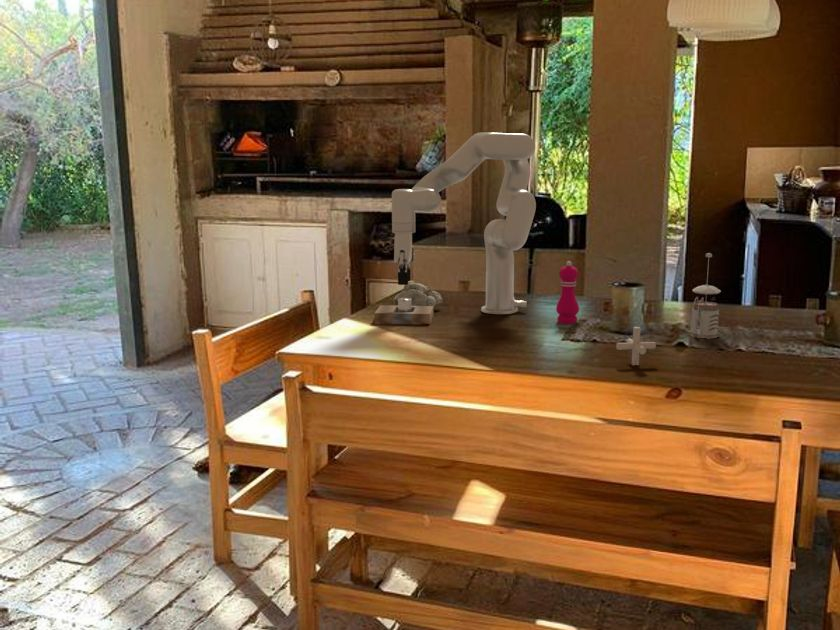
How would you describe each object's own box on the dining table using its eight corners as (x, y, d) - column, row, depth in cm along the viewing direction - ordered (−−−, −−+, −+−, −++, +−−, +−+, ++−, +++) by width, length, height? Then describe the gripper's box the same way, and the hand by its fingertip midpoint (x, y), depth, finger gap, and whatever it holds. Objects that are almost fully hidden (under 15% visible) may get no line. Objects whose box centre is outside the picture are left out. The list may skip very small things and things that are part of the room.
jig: (433, 316, 279) (433, 306, 278) (430, 324, 266) (430, 313, 266) (380, 315, 281) (380, 305, 280) (374, 323, 268) (374, 313, 267)
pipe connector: (610, 360, 222) (612, 323, 220) (646, 359, 223) (648, 322, 221) (622, 370, 212) (624, 332, 210) (660, 369, 213) (662, 331, 211)
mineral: (437, 307, 282) (441, 279, 285) (388, 302, 286) (393, 275, 288) (443, 318, 293) (447, 291, 296) (396, 313, 297) (400, 287, 300)
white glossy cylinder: (412, 318, 276) (412, 297, 274) (410, 321, 271) (410, 300, 270) (399, 318, 276) (398, 297, 275) (397, 321, 272) (397, 300, 270)
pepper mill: (553, 323, 267) (555, 262, 263) (558, 319, 273) (560, 259, 269) (575, 325, 264) (578, 263, 260) (580, 320, 271) (582, 260, 267)
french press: (726, 335, 250) (732, 252, 245) (709, 341, 242) (715, 256, 237) (695, 330, 257) (700, 249, 252) (678, 336, 248) (683, 253, 243)
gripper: (395, 225, 276) (396, 278, 280) (388, 230, 259) (389, 287, 263) (418, 225, 275) (418, 278, 279) (412, 230, 259) (412, 287, 262)
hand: (404, 282), depth 271 cm, fingers open, 6 cm apart
